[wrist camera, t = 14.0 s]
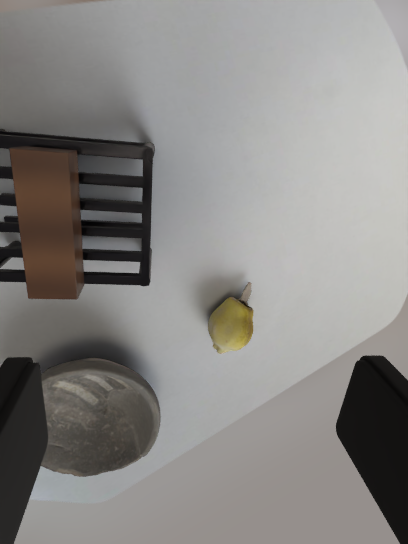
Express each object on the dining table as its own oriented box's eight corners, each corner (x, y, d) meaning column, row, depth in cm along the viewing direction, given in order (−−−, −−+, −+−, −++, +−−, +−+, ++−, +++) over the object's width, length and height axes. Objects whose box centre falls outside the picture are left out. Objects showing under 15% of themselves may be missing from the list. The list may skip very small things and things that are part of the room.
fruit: (267, 285, 46) (242, 350, 48) (225, 271, 46) (202, 336, 48) (271, 296, 40) (243, 369, 42) (223, 279, 41) (197, 353, 42)
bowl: (185, 378, 50) (189, 421, 43) (109, 448, 54) (101, 498, 47) (84, 310, 44) (69, 346, 37) (5, 393, 47) (-22, 442, 40)
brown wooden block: (28, 145, 28) (9, 148, 24) (79, 149, 28) (68, 152, 25) (42, 279, 32) (28, 298, 29) (86, 280, 33) (77, 299, 29)
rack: (-5, 128, 35) (-56, 128, 26) (155, 142, 37) (154, 146, 29) (12, 250, 40) (-26, 282, 32) (151, 255, 42) (150, 286, 34)
